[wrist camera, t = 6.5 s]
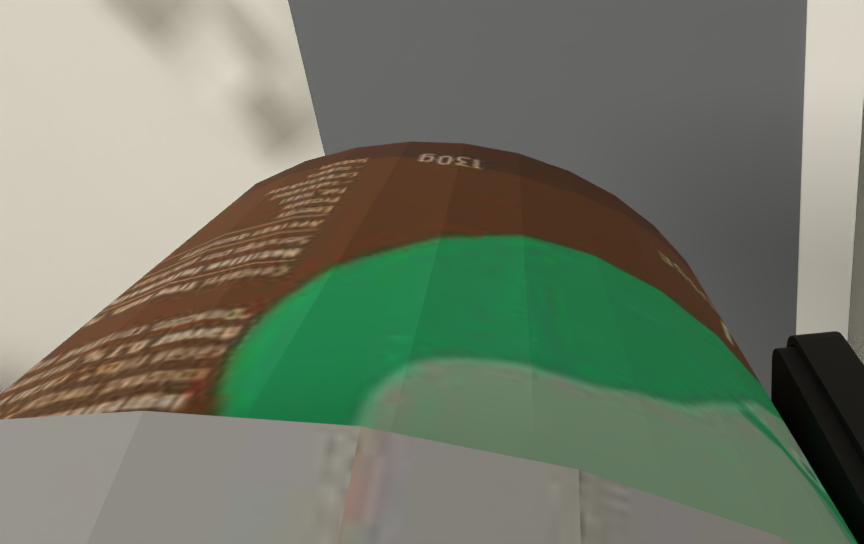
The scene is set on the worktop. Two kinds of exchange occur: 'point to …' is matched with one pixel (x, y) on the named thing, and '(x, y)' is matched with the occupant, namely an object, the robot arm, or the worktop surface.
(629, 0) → the mat
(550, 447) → the food container
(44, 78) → the worktop surface
